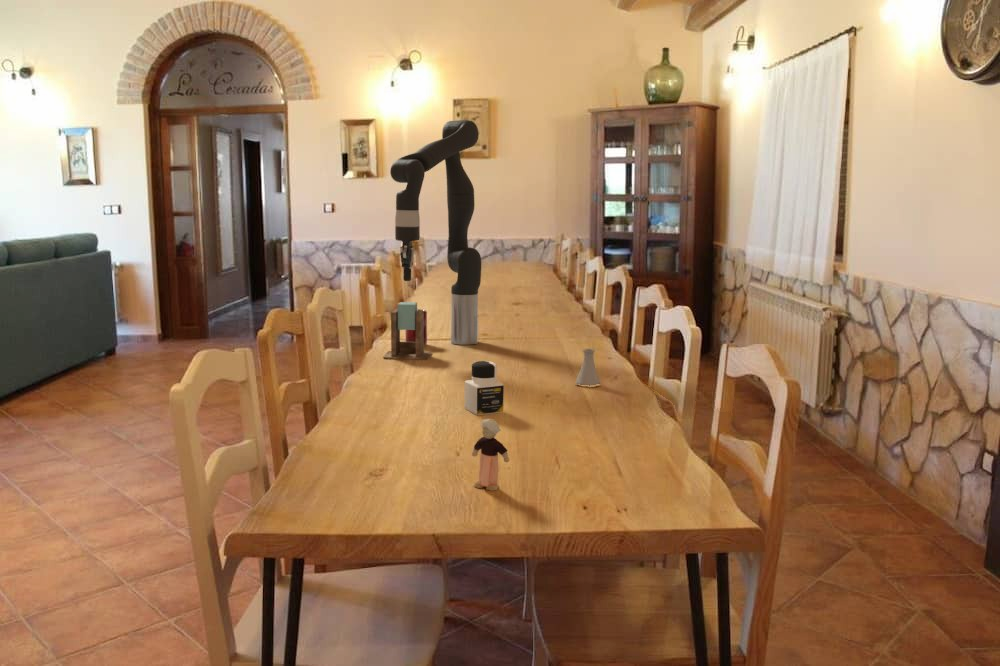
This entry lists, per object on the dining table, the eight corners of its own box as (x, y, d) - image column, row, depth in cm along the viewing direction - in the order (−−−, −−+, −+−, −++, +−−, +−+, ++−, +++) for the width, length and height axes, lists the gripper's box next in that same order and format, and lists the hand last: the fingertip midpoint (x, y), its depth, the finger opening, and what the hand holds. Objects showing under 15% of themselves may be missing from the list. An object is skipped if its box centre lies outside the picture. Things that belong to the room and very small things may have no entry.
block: (417, 327, 270) (417, 302, 268) (414, 329, 264) (414, 304, 263) (400, 326, 270) (400, 302, 268) (397, 329, 264) (397, 304, 263)
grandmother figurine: (465, 488, 151) (465, 419, 149) (473, 481, 154) (474, 414, 152) (505, 494, 148) (506, 424, 146) (513, 487, 151) (514, 418, 149)
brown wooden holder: (431, 353, 273) (431, 309, 271) (427, 359, 263) (427, 313, 261) (388, 352, 274) (388, 308, 271) (383, 358, 264) (382, 312, 261)
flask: (604, 384, 234) (605, 348, 232) (596, 389, 227) (597, 353, 226) (579, 381, 237) (580, 346, 235) (570, 386, 230) (572, 350, 229)
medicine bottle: (477, 416, 199) (477, 366, 197) (464, 409, 205) (464, 360, 203) (503, 412, 202) (504, 363, 200) (490, 406, 208) (490, 358, 206)
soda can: (425, 347, 285) (425, 312, 283) (404, 346, 285) (404, 311, 283) (427, 343, 292) (427, 308, 290) (407, 342, 292) (406, 308, 290)
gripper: (416, 226, 255) (416, 283, 258) (422, 224, 268) (422, 278, 271) (391, 225, 255) (392, 282, 258) (398, 224, 268) (398, 278, 271)
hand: (407, 280), depth 264 cm, fingers closed
